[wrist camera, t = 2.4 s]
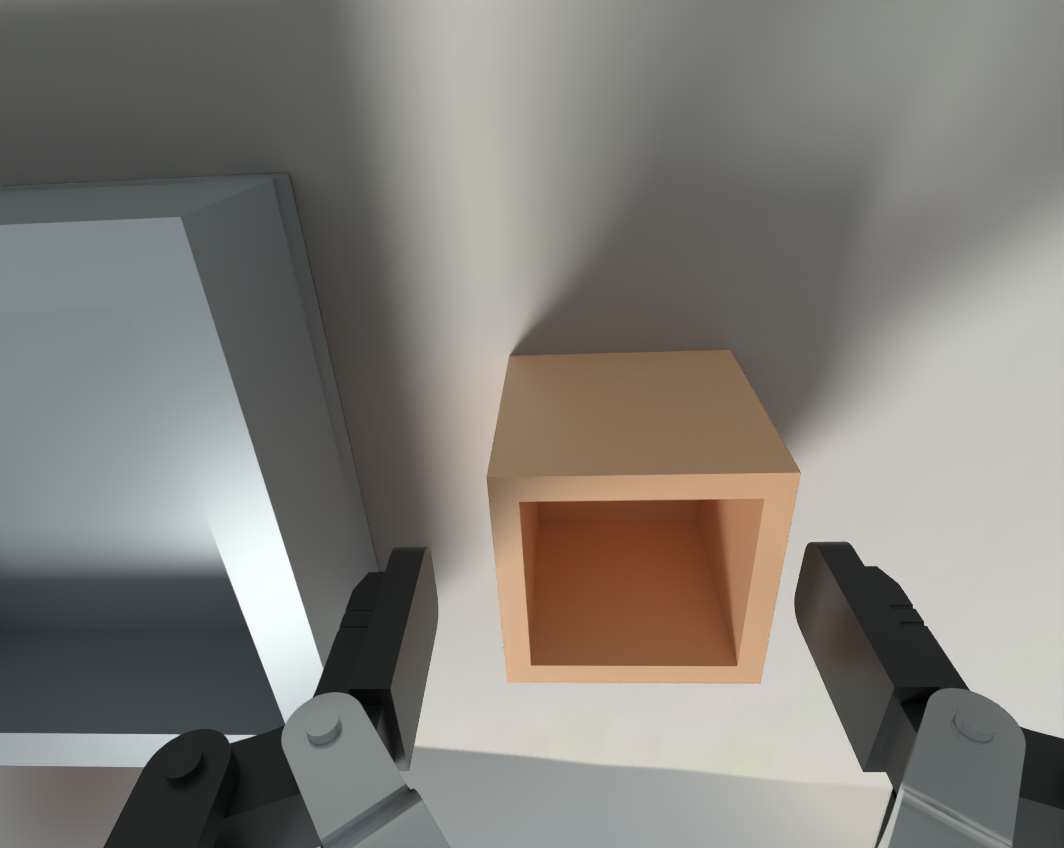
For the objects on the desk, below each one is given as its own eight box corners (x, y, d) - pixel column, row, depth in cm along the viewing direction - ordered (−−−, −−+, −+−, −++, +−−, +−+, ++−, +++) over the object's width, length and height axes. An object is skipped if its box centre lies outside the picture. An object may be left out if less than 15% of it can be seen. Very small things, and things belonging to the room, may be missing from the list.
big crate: (288, 172, 15) (180, 216, 11) (393, 637, 23) (354, 769, 19) (-318, 201, 16) (-635, 253, 12) (-19, 637, 24) (-146, 763, 20)
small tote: (729, 348, 17) (801, 472, 12) (710, 523, 20) (760, 684, 15) (509, 354, 18) (486, 477, 12) (521, 525, 21) (507, 682, 15)
